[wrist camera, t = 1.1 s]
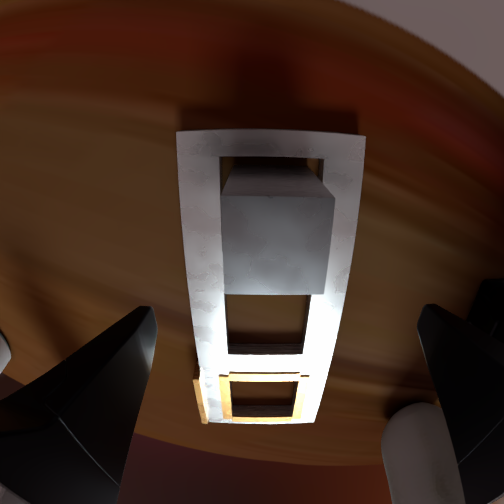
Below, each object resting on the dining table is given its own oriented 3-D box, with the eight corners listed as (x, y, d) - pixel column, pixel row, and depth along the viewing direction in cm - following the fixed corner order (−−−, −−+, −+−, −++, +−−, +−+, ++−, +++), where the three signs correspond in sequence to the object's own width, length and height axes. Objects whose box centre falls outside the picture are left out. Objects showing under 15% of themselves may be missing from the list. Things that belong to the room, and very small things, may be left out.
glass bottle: (443, 407, 34) (495, 561, 9) (382, 438, 36) (415, 594, 11) (435, 377, 30) (504, 568, 5) (363, 414, 33) (401, 610, 8)
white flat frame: (358, 134, 19) (370, 137, 17) (312, 412, 32) (314, 428, 30) (173, 130, 19) (163, 133, 17) (205, 411, 32) (203, 427, 30)
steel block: (307, 166, 20) (335, 198, 13) (303, 233, 22) (323, 294, 15) (233, 164, 20) (220, 196, 13) (234, 232, 22) (224, 293, 15)
